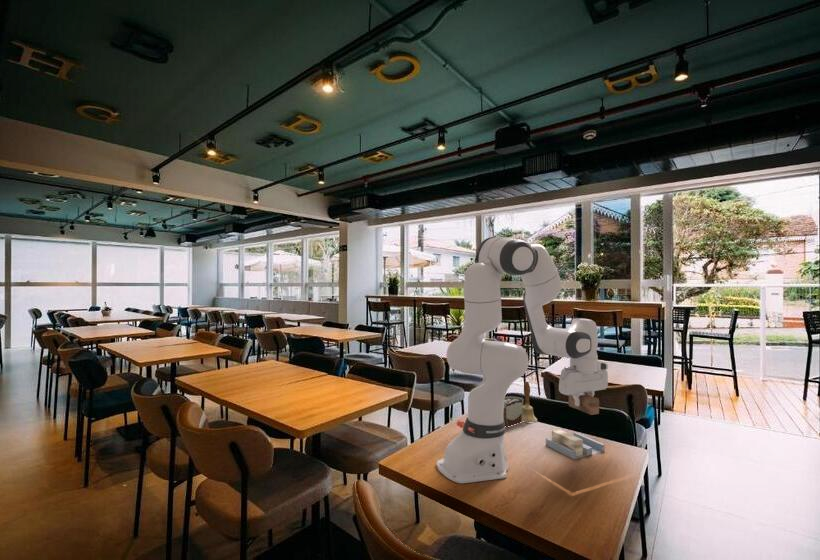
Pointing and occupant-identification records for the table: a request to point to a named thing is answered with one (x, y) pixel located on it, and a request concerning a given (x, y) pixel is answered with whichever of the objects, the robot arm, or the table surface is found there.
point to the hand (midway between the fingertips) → (583, 404)
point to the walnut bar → (586, 404)
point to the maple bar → (568, 441)
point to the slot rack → (588, 449)
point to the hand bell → (527, 406)
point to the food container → (512, 410)
